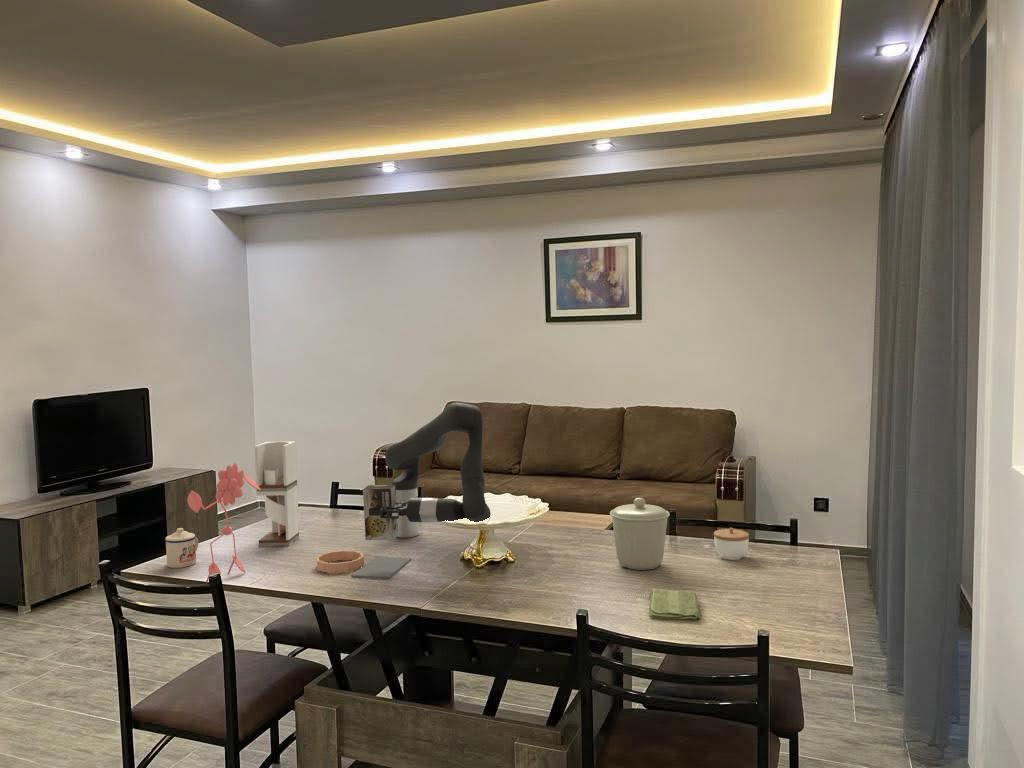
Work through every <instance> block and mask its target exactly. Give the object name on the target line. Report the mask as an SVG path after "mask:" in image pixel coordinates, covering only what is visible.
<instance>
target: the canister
mask: <svg viewBox="0 0 1024 768" xmlns="http://www.w3.org/2000/svg"><path fill="white" fill-rule="evenodd" d="M609 515H610V517H612V528H613V536H614V537H613V538H614V545H615V551H616V556H617V560H618V563H619V564H620V565H621V567H624V568H627V569H630V570H636V571H637V570H638V571H646V570H647V571H649V570H653V569H656V568H659V567H660V565H661V564H662V563H663V559H664V552H665V545H666V534H667V524H668V518H669V517H670V512H669V511H668V510H666V509H665V508H663V507H661V506H659V505H654V504H647V503H646V500H645V499H644V498H643V497H636V498H635V499H634V500H633V503H630V504H623V505H619V506H617V507H615V508H614V509H611V511H609Z"/></svg>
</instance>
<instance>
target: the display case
mask: <svg viewBox="0 0 1024 768" xmlns="http://www.w3.org/2000/svg"><path fill="white" fill-rule="evenodd" d="M254 458H255V461H254V463H255V481H256V482H255V483H256V484H257V485H258V486H259V488H260V489H261V491H260V490H258V489H256V497H258V496H260V497H262V496H264V507H265V510H264V511H265V515H266V517H267V518H268V519H270V520H271V531H269V532H268V533H267V534H265V535H264V536H263V537H261V538H260V539H258V547H274V546H273V545H277V546H276V547H279V546H278V545H285V546H284V547H287V546H286V545H289V546H291V545H292V544H293V543H294V542H295V541H297V540H298V539H299V538H300V525H299V522H300V521H299V518H300V517H299V496H298V468H297V466H298V465H297V444H296V441H265V442H262V443H260V444H257V445H255V446H254ZM298 537H299V538H298ZM297 538H298V539H297ZM296 539H297V540H296ZM294 540H295V541H294ZM293 541H294V542H293ZM292 542H293V543H292ZM291 543H292V544H291ZM290 544H291V545H290Z"/></svg>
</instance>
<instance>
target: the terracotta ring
mask: <svg viewBox="0 0 1024 768" xmlns="http://www.w3.org/2000/svg"><path fill="white" fill-rule="evenodd" d="M315 560H316V562H315V564H316V570H319V571H318V572H320V571H322V572H321V573H323V572H327V573H326V574H342V573H343V572H345V573H351V572H353V571H357V570H359V569H360V568H361V567H363V566H364V565H365V556H364V553H363V552H361V551H357V550H346V549H345V550H343V549H342V550H335V551H329V552H326V553H321V554H320V555H318V556H316V557H315ZM337 560H342V562H341V561H340V562H338V561H337ZM349 560H352V561H349ZM330 561H333V562H330ZM327 562H329V563H327ZM329 572H330V573H329Z"/></svg>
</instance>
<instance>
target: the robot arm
mask: <svg viewBox="0 0 1024 768" xmlns="http://www.w3.org/2000/svg"><path fill="white" fill-rule="evenodd" d="M483 427H484V426H483V414H482V410H481V409H480V407H478V406H477V405H474V404H468V403H463V402H453V403H450V404H449V405H448V406H447V407H446V408H444V409H443V410H442V411H441V413H439V414H438V415H437V416H436V417H435V418H433V420H431V421H429V422H428V423H426V424H425V425H423V426H422V427H420V428H418V429H417V430H416V431H415V432H413V433H412V434H410V435H409V436H408V437H406V438H404V439H403V440H401V441H399V442H397V443H395V444H392V445H390V446H389V447H388V448H387V450H386V452H385V454H384V455H385V456H384V457H385V458H384V459H385V464H386V465H387V467H388V468H389V469H391V470H393V471H402V473H401V474H400V475H399V476H398V477H395V478H394V479H393V480H391V485H396V505H392V506H388V507H387V508H370V509H369V515H370V516H380V518H393V519H397V523H398V536H397V537H396V538H401V539H402V538H403V539H405V538H412V537H413V538H414V537H416V536H419V533H420V527H419V524H420V523H443V522H442V521H445V520H446V521H447V520H448V521H454V520H458V519H463V518H467V519H469V520H470V521H474V522H479V521H483V520H485V519H487V518H489V517H490V518H491V515H492V514H491V508H490V507H489V506H488V504H487V503H486V502H487V501H486V499H485V490H486V480H485V474H484V467H483V432H484V431H483ZM450 432H458V433H464V434H467V436H468V440H469V441H468V446H467V450H466V452H465V454H464V455H463V458H462V459H461V463H460V478H461V485H462V502H461V501H459V500H456V499H454V498H438V497H418V496H419V495H418V493H419V492H418V489H419V488H418V483H419V480H420V479H419V478H420V475H419V474H420V458H421V457H423V456H427V455H430V454H432V453H434V452H435V451H438V450H439V449H440V448H442V447H443V446H444V445H445V443H446V441H447V434H448V433H450ZM391 508H392V510H391ZM384 512H387V514H384ZM490 518H489V519H490Z"/></svg>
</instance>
